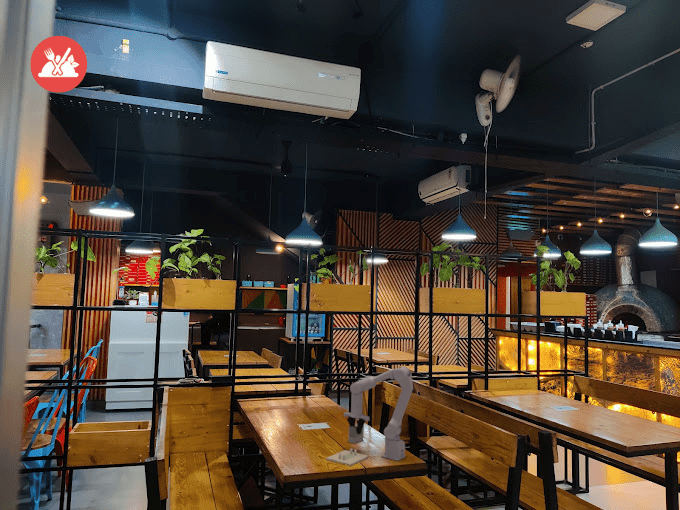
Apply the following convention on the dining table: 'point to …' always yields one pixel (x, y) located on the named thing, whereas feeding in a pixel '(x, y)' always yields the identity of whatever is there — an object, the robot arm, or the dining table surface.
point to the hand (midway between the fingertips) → (356, 433)
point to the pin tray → (347, 457)
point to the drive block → (354, 431)
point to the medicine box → (356, 440)
